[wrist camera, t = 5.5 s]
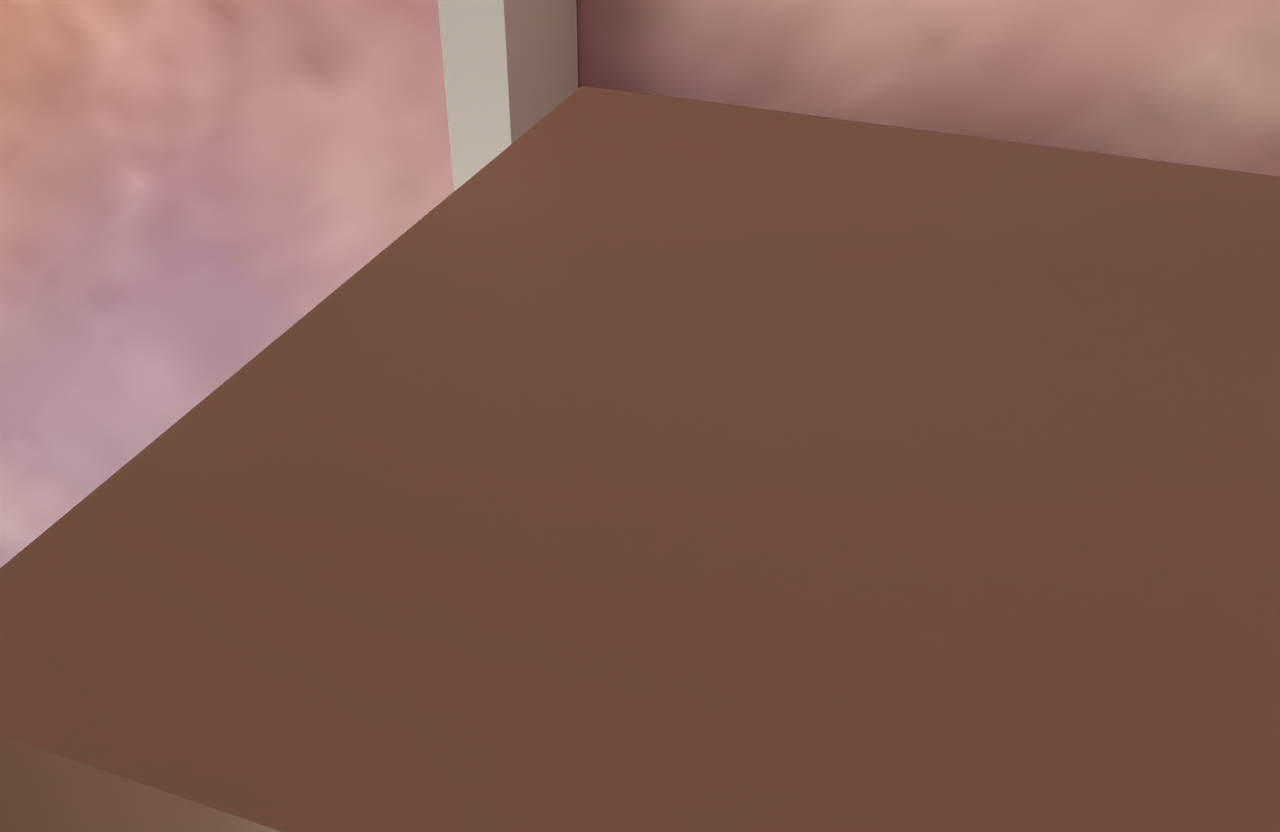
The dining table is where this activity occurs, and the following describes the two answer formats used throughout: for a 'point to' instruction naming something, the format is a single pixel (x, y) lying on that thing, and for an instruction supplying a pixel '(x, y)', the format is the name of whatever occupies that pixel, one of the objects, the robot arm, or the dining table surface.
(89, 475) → the dining table surface
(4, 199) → the dining table surface
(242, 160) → the dining table surface
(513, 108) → the grey bin
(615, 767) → the tan block
